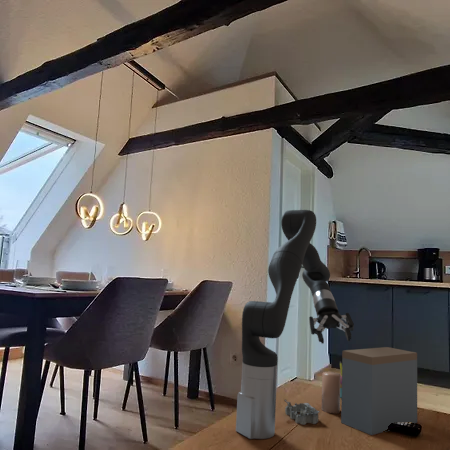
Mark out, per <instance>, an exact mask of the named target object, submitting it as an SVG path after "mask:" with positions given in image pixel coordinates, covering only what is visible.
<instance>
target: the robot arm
mask: <svg viewBox="0 0 450 450" xmlns="http://www.w3.org/2000/svg"><path fill="white" fill-rule="evenodd" d="M280 224H281V229H282V233H283V234H284V236H285V238H286V239H287V241H286V242H284V243H283V244H282V245H280V246H278V248H277V249H276V250H275V251H274V252H273V255H272V258H271V260H270V262H269V264H268V268H267V269H268V270H267V273H268V277H269V279H270V282H271V284H272V286H273V289H274V291H275V294H276V295H275V298H274V300H273V301H272V302H269V301H259V300H257V301H256V300H250V301H248V302H246V303H245V305H244V307H243V311H242V316H241V353H242V354H241V355H242V359H241V360H242V362H241V363H242V364H241V365H242V367H241V380H240V381H241V382H240V391H238V393H237V397H236V398H237V399H236V402H237V403H236V419H235V432H237V433H239V434H240V435H242V436H244V437H246V438H248V439H249V440H252V439H257V440H263V439H264V440H265V439H270V438H273V437H274V436H275V434H276V433H275V429H276V427H275V426H276V409H277V408H276V407H277V383H278V381H277V380H278V378H277V377H278V354H277V352H275V351H273V350H272V349H270V348H268V347H267V346H266V345H264V344H263V343H262V341H261V340H260V338H265V339H266V338H267V339H278V338H280V337H281V335H282V334H283V332H284V330H285V326H286V321H287V317H288V313H289V311H290V305H291V299H292V297H293V294H294V293H293V292H294V290H295V286H296V284H297V281H298V278H299V276H300V272H301V270H302V267H303V269H304V270H303V271H302V274H301V275H302V276H301V277H302V279H303V282H304V284H306V286H307V287H308V288H309V289H310V290H309V291H310V292H311V295H312V301H313V307H314V310H315V312H316V317H314V316H309V317H308V320H309V321H308V322H309V323H308V324H309V328H310V333H311V335H316V336H317V340H318V342H319V343H321V345H323V344H324V342H325V340H324V336H323V332H324V331H325V330H330V329H339V330H341V331H343V332H344V335H345V338H346V340H347V342H350V341H351V340H352V333H351V332H353V331H354V329H355V324H354V322H353V319H352V317H351V314H350V313H349V312H345V314H343V315H341V313H340V312H339V309H338V305H337V304H336V301H335V297H334V296H333V295H334V294H332V290H331V287H330V284H329V283H328V281H329V280H330V277H331V273H330V270H329V268H328V266H327V265H326V264H325V263H323V261H322V260H321V257H320V254H319V252H318V249H316V247H315V246H314V245H313V244H312V243H311V241H312V239H313V236H314V235H315V232H316V228H317V215H316V213H315V212H314V211H313V210H310V209H292V210H286V211H284V212H283V213H282V217H281V222H280ZM316 323H318V324H319V325H318V326H317V328H315V327H316V326H315V325H316Z"/></svg>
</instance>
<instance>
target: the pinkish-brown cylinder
mask: <svg viewBox="0 0 450 450" xmlns="http://www.w3.org/2000/svg"><path fill="white" fill-rule="evenodd" d="M321 375H322V376H321V377H322V380H321V381H322V382H321V411H323V412H325V413H329V414H339V413H341V411H340V410H341V398H340V376H341V373H339V372H333V371H323V372H322V374H321Z"/></svg>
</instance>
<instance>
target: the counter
mask: <svg viewBox="0 0 450 450" xmlns="http://www.w3.org/2000/svg"><path fill="white" fill-rule="evenodd" d="M341 358H342V361H341V363H342V398H341V404H340V410H341V411H340V414H341V416H340V417H341V418H340V423H341V424H343V425H345V426H348V427H351V428H353V429H356V430H357V431H361V432H363V433H365V434H368V435H370V436H374V435H377V434H381V433H384V432H383V431H385V430H387V429H388V426H389V425H390V424H391V423H394V422H412V423H414V424H416V423H418V352H415V351H409V350H405V349H399V348H393V347H390V346H389V347H388V346H383V347H372V348H371V347H369V348H360V349H346V350H342V357H341ZM385 432H386V431H385Z"/></svg>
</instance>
